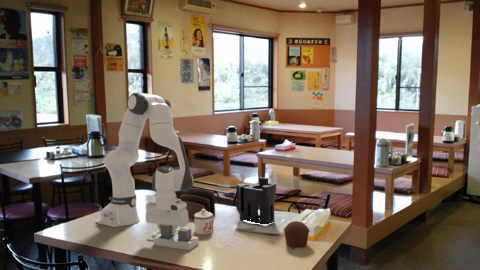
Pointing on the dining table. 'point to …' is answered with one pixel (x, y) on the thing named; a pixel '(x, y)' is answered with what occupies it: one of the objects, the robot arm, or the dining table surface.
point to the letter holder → (198, 201)
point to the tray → (159, 232)
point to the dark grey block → (184, 234)
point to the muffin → (296, 234)
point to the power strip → (175, 242)
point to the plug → (166, 231)
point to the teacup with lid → (204, 222)
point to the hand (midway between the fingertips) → (167, 234)
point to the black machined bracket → (256, 201)
